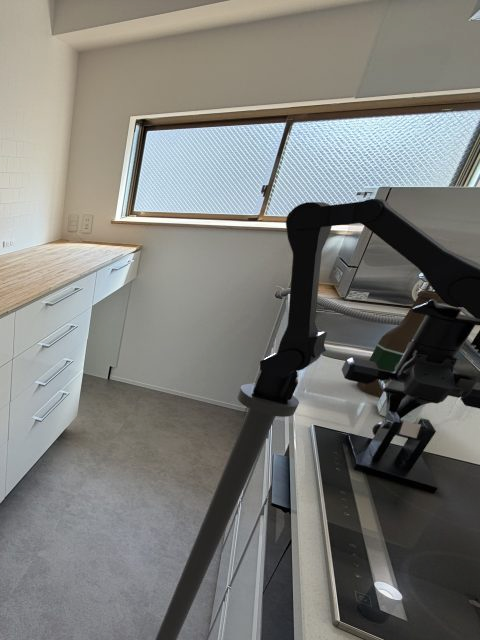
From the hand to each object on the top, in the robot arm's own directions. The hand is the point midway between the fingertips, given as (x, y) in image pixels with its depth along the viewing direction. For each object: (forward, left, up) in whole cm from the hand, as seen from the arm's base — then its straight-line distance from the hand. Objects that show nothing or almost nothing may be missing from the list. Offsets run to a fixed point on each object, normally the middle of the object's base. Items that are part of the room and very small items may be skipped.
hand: (388, 422), depth 76 cm
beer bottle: (+4, +30, -4) cm, 31 cm away
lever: (0, -5, -1) cm, 5 cm away
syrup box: (+5, +17, -4) cm, 18 cm away
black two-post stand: (0, -8, -4) cm, 9 cm away
